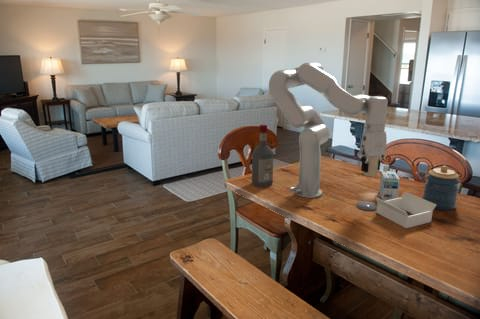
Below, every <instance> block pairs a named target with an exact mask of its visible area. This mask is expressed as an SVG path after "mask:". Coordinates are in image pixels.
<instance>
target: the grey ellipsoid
mask: <svg viewBox="0 0 480 319" xmlns="http://www.w3.org/2000/svg"><path fill="white" fill-rule="evenodd" d="M356 207H357V208H359V209H360V210H363V211H368V212H369V211H376V210H377V204H376V203H374V202H371V201H366V200H361V201H358V202H357V203H356Z"/></svg>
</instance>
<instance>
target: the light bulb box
mask: <svg viewBox="0 0 480 319" xmlns="http://www.w3.org/2000/svg"><path fill="white" fill-rule="evenodd" d="M400 182H401V177H399V175H398V174H397V172H396V171H390V170H380V178H379V187H378V193H379V195H380V199H381V200H383V201H386V200H391V199H396V198H399V193H400V192H399V191H400V184H401V183H400Z"/></svg>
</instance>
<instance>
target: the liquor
mask: <svg viewBox="0 0 480 319" xmlns="http://www.w3.org/2000/svg"><path fill="white" fill-rule="evenodd" d="M267 132H268V125H267V124H259V143H258V145H257V146H256V147H255V148H254V149H253V151H252V154H251V155H252V156H251V168H252V169H251V183H252V185H254V186H256V187H257V188H267V187H270V186H272V185H273V182H274V154H275V153H274V151H273V150H272V148H271V147H270V146H269V145H268V141H267V138H268V137H267V135H268V133H267Z"/></svg>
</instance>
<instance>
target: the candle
mask: <svg viewBox="0 0 480 319" xmlns="http://www.w3.org/2000/svg"><path fill="white" fill-rule="evenodd" d="M365 159H366V156H365ZM378 161H379V156H374V157H369V160H368V162H367V163H369V165H368V172H367V173H366V172H363V171H362V175H364V176H367V177H370V178H371V177H372V178H373V177H374V178H375V177H376V176H378V171H379V170H378Z"/></svg>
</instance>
